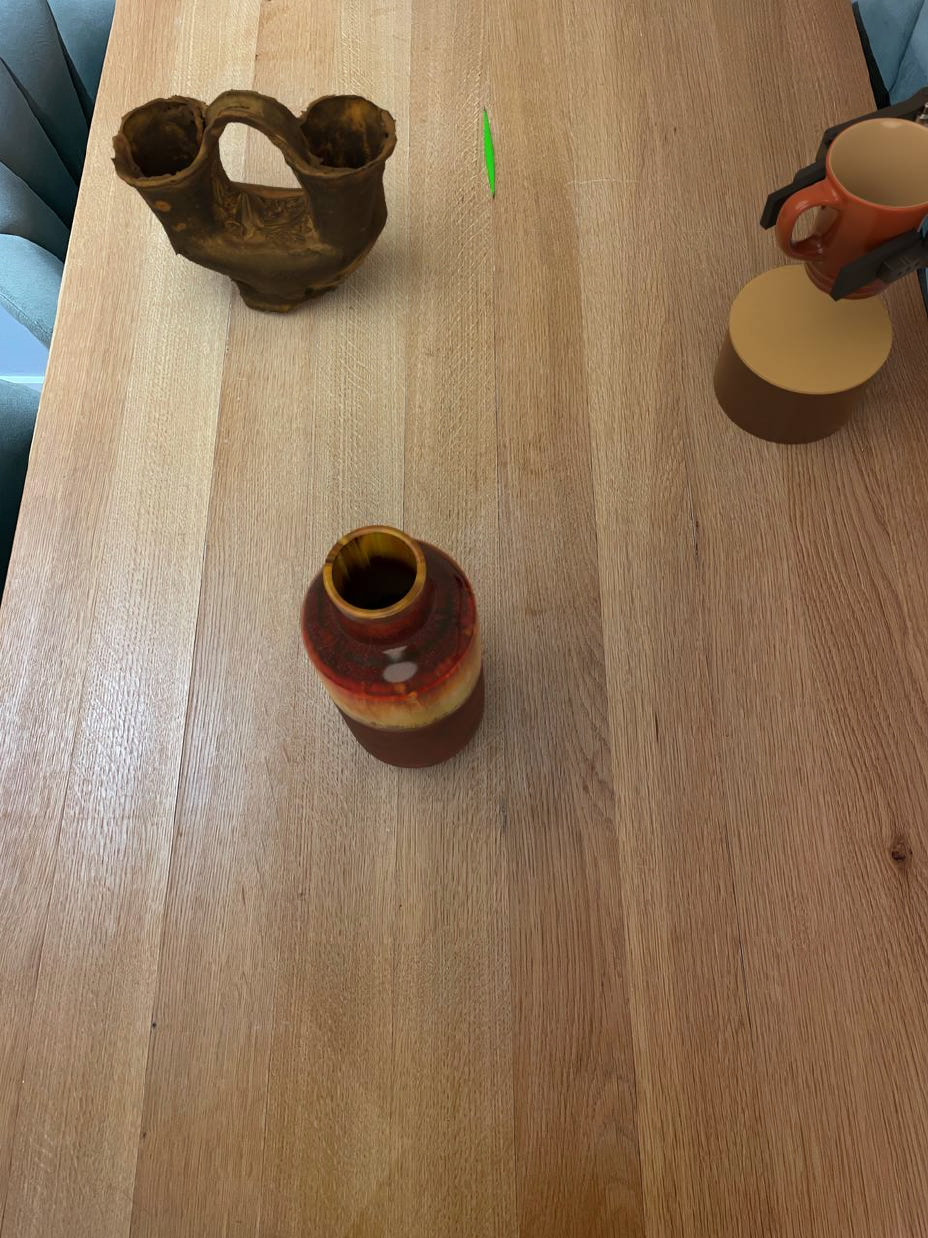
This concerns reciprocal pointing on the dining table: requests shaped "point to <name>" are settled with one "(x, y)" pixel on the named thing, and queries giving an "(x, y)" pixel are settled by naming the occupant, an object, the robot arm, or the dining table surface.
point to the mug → (860, 200)
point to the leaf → (489, 152)
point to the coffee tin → (797, 357)
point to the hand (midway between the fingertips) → (802, 247)
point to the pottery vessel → (264, 189)
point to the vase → (397, 645)
